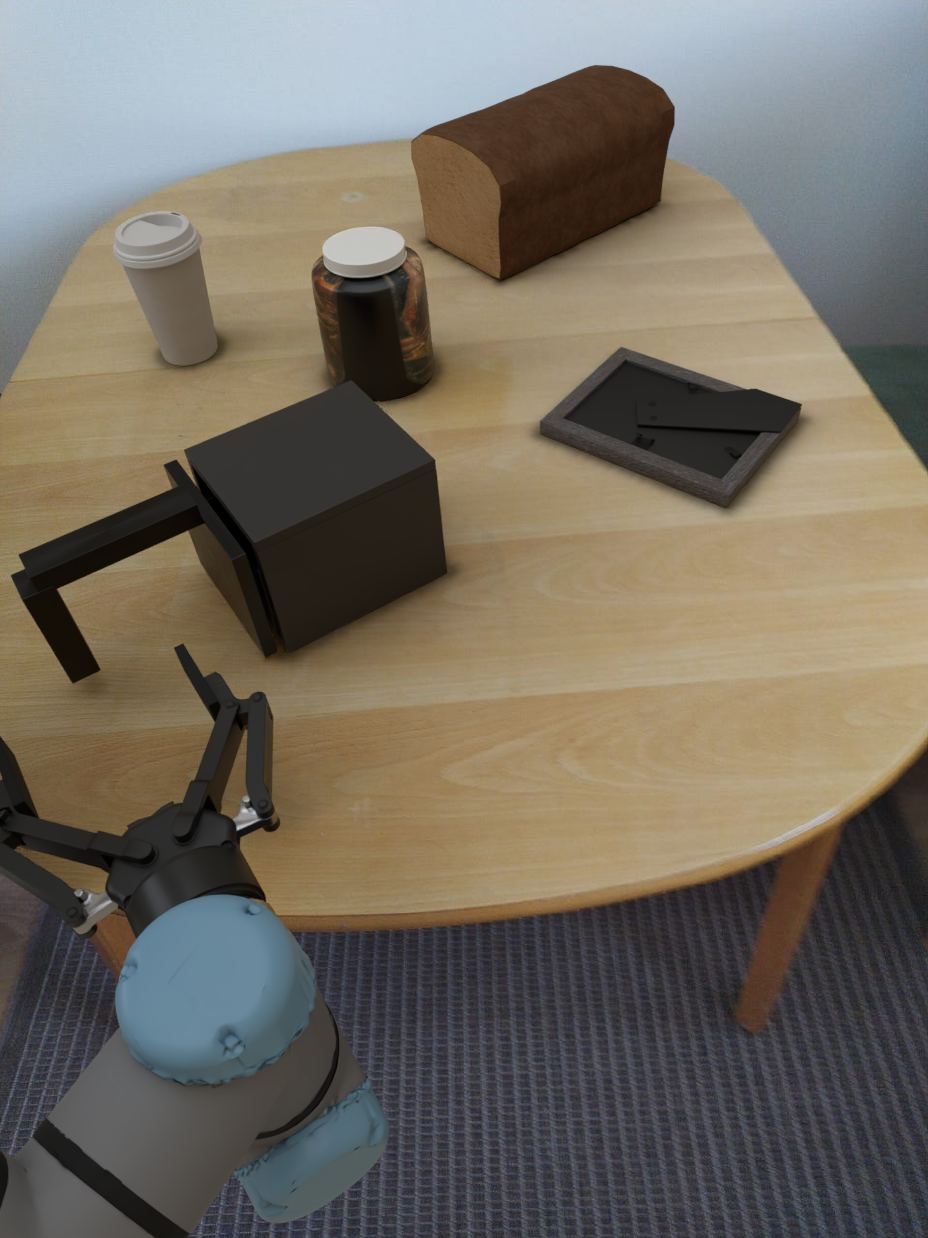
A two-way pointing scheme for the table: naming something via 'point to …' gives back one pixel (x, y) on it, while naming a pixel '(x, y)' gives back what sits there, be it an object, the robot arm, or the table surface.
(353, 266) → the jar
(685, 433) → the picture frame
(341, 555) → the box
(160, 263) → the coffee cup
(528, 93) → the bread
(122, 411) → the table surface
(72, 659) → the fryer drawer
